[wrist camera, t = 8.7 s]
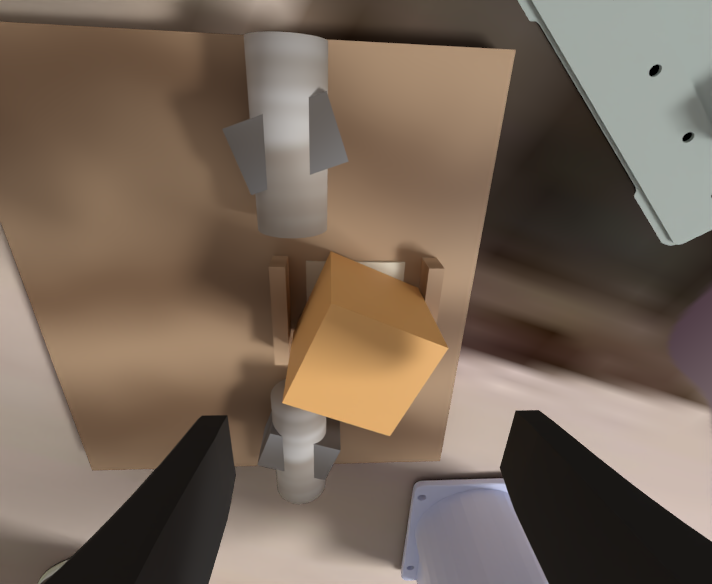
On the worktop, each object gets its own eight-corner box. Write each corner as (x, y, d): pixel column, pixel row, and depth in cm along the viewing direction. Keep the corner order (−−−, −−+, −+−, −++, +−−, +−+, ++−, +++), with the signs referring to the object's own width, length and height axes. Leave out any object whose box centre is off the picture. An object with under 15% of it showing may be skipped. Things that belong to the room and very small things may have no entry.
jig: (435, 446, 22) (452, 501, 19) (102, 454, 20) (62, 515, 17) (502, 53, 13) (554, 37, 10) (-45, 24, 12) (-171, -5, 9)
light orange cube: (418, 287, 16) (448, 348, 12) (375, 360, 17) (389, 436, 13) (330, 251, 15) (331, 303, 11) (293, 331, 17) (281, 403, 12)
